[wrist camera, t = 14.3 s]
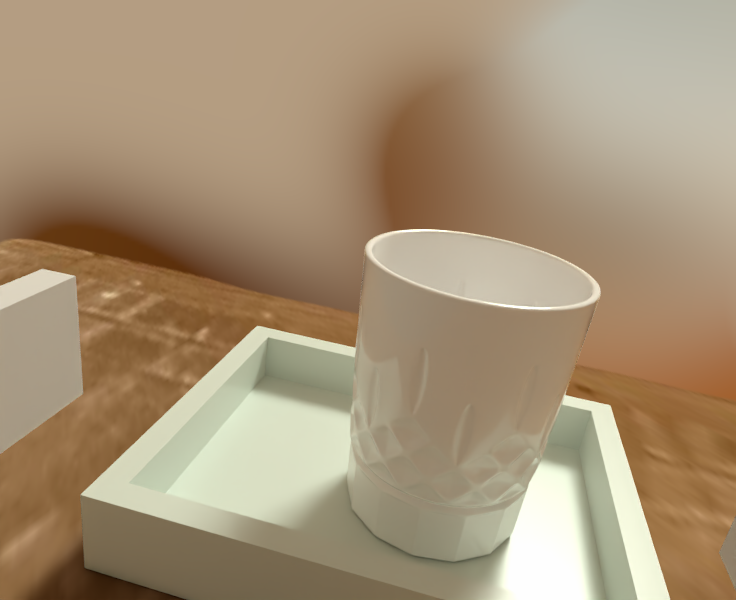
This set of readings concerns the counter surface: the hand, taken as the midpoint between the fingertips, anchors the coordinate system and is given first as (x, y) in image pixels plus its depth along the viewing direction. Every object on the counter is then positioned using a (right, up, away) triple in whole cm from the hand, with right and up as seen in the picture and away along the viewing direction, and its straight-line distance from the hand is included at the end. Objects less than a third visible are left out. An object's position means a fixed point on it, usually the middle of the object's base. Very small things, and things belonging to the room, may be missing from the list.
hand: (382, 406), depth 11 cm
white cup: (+2, -6, +13) cm, 14 cm away
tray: (+1, -6, +13) cm, 15 cm away
